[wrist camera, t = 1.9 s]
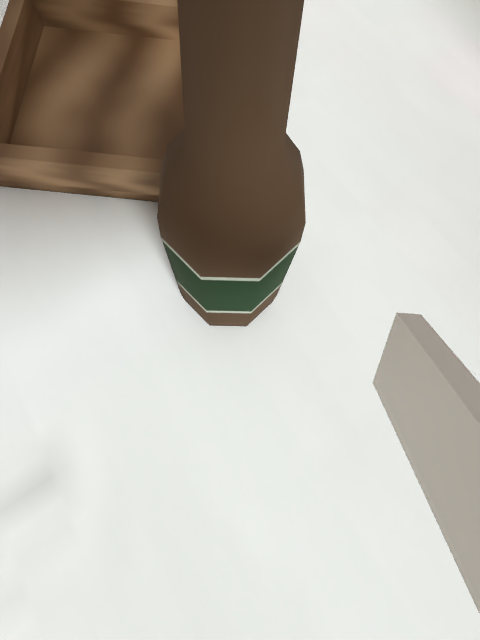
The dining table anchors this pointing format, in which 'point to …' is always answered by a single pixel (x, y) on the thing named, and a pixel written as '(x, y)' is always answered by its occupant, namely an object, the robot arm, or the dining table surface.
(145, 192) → the box
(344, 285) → the dining table surface
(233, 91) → the beer bottle
